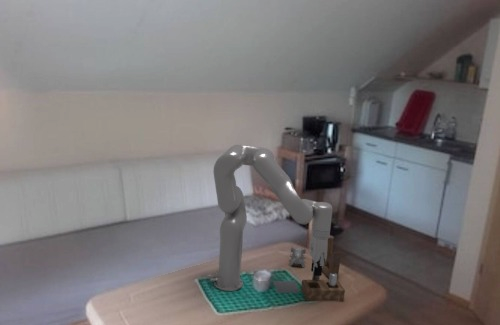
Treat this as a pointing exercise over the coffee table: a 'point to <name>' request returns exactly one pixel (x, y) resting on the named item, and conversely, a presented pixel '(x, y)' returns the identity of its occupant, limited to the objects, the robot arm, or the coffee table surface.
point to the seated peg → (332, 280)
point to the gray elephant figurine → (297, 256)
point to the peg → (314, 278)
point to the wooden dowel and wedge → (331, 260)
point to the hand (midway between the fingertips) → (316, 273)
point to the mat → (286, 287)
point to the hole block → (322, 291)
